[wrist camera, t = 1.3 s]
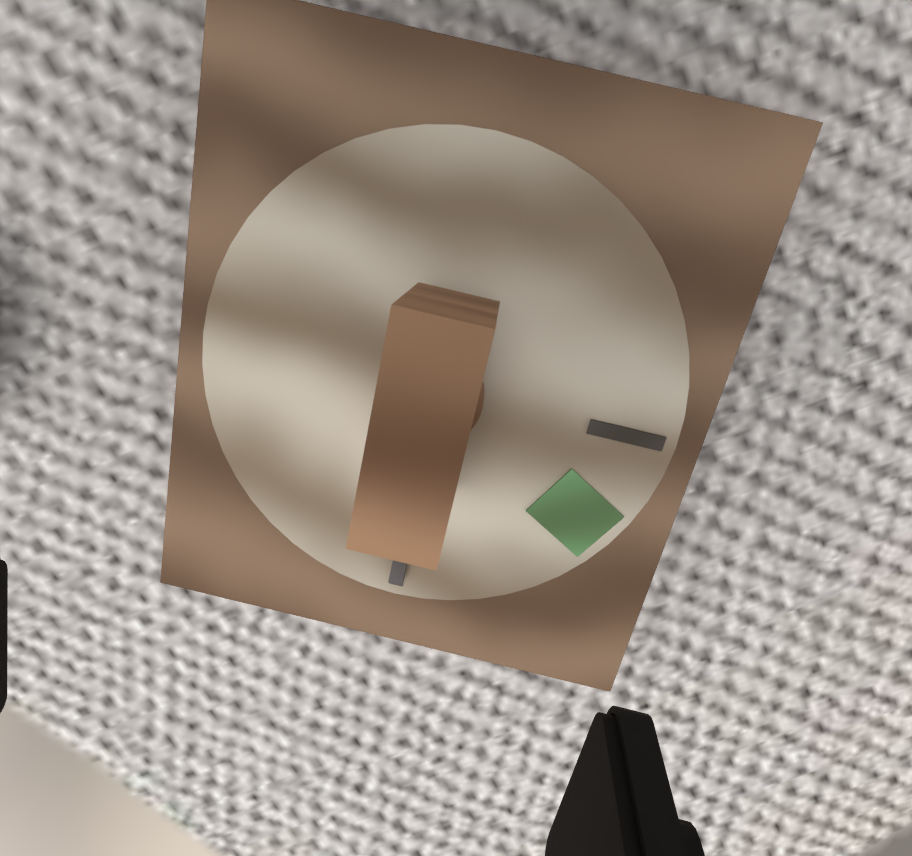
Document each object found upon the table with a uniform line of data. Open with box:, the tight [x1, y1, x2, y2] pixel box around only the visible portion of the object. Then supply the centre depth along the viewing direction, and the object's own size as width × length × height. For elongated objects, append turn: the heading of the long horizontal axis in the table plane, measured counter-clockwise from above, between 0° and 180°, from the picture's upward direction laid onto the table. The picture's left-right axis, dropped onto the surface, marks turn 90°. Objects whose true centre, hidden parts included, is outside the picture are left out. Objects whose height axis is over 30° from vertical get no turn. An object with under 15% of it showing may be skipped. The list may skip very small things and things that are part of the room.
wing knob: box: [346, 282, 500, 586], centre depth 23 cm, size 12×4×6 cm, turn 168°
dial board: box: [161, 0, 823, 691], centre depth 27 cm, size 24×21×2 cm
